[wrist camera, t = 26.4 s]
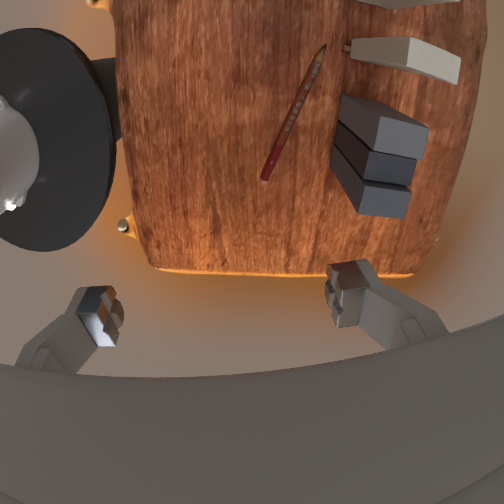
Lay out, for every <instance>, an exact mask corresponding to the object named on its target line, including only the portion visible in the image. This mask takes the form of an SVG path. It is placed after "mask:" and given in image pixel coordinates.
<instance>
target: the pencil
mask: <svg viewBox="0 0 504 504" xmlns="http://www.w3.org/2000/svg"><path fill="white" fill-rule="evenodd" d="M326 45H327V44H326ZM326 45H325V46H324V47H323V48H322V49H321V51H320V52H319V53H318V54H317V56H316V57H315V58H314V60H313V62H312V64H311V66H310V68H309V71H308V73H307V75H306V77H305V79H304V81H303V83H302V86H301V88H300V90H299V92H298V94H297V96H296V99H295V101H294V103H293V105H292V107H291V110H290V112H289V114H288V116H287V118H286V121H285V123H284V125H283V127H282V130H281V132H280V134H279V136H278V139H277V141H276V143H275V145H274V148H273V150H272V152H271V154H270V157H269V159H268V161H267V163H266V166H265V168H264V170H263V172H262V175H261V177H260V178H261V179H262V180H263V181H267V180H268V179H269V176H270V174H271V172H272V170H273V168H274V165H275V163H276V161H277V159H278V157H279V155H280V152H281V150H282V148H283V146H284V144H285V142H286V139H287V137H288V135H289V133H290V131H291V129H292V126H293V124H294V122H295V120H296V118H297V116H298V114H299V111H300V109H301V107H302V105H303V103H304V101H305V99H306V97H307V94H308V92H309V90H310V88H311V86H312V84H313V82H314V80H315V77H316V75H317V73H318V71H319V69H320V67H321V65H322V61H323V57H324V53H325V49H326Z"/></svg>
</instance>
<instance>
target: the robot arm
mask: <svg viewBox="0 0 504 504" xmlns="http://www.w3.org/2000/svg"><path fill="white" fill-rule="evenodd" d="M38 169H39V149H38V143H37V140H36V136H35V134H34V131H33V129H32V127H31V125H30V124H29V122H28V121H27V120H26V118H25V117H24V116H23V115H22V114H20V113H19V112H18V111H16V110H14V109H13V108H11V107H10V106H9V104H8V102H7V101H6V99H5V98H4V97H3V96H2V95H0V215H1V214H2V213H3V212H4V211H5V210H7V209H8V210H13V209H14V208H15V207H16V206H18V207H19V206H21V205H23V204H24V203H25V201H26V196H27V191H28V189H29V188H30V187H31V185H32V184H33V182H34V181H35V179H36V176H37V173H38ZM326 273H327V276H328V278H329V279H328V280H327V281H326V283H325V296H326V301H327V304H328V307H330V308H331V309H332V318H333V321H334V323H335V326H336V328H342V327H349V326H355V325H358V327H359V328H361V329H362V330H363V331H364V332H366V333H367V334H368V335H369V336H370V337H371V338H373V339H374V340H375V341H376V342H377V343H379V344H380V345H381V346H382V347H383V348H385V349H386V350H387V351H383V352H379V353H374V354H370V355H365V356H360V357H355V358H350V359H345V360H339V361H334V362H328V363H323V364H317V365H310V366H304V367H297V368H289V369H282V370H273V371H265V372H255V373H245V374H233V375H218V376H200V377H170V378H169V377H166V378H164V377H163V378H148V377H147V378H146V377H145V378H143V377H109V376H94V375H93V376H92V375H79V374H76V373H77V372H78V370H79V369H80V368H81V367H82V366H83V365H84V363H85V362H86V361H87V360H88V359H89V357H90V356H91V355H92V354H93V353H94V352H95V350H96V349H97V348H98V347H111V346H112V347H113V346H116V343H117V340H118V337H119V332H118V330H117V329H118V328H119V327H121V326H122V323H123V320H124V311H123V307H122V305H121V303H120V301H118V300H117V299H116V298H115V296H116V292H115V290H114V288H113V287H112V286H91V287H80V288H78V289H77V291H76V292H75V295H74V296H73V298H72V300H71V302H70V304H69V306H68V308H67V310H66V312H65V314H64V315H60V316H59V317H58V318H56V319H55V320H54V321H53V322H52V323H50V324H49V325H48V326H47V327H45V328H44V329H43V330H42V331H41V332H39V333H38V334H37V335H36V336H35V337H33V338H32V339H31V340H30V341H29V342H28V343H26V344H25V345H24V346H23V349H22V351H21V353H20V355H19V357H18V359H17V361H16V364H15V366H11V365H4V364H0V504H504V314H502V315H499V316H497V317H494V318H492V319H489V320H486V321H484V322H481V323H478V324H475V325H473V326H470V327H467V328H464V329H461V330H458V331H455V332H452V333H449V332H448V330H447V329H446V327H445V326H444V324H443V322H442V321H441V319H440V318H439V316H438V314H437V313H436V312H435V311H434V310H432V309H430V308H428V307H426V306H425V305H423V304H421V303H419V302H418V301H416V300H414V299H412V298H410V297H409V296H407V295H405V294H403V293H401V292H399V291H398V290H396V289H394V288H392V287H390V286H389V285H383V283H382V282H381V280H380V279H379V277H378V275H377V274H376V272H375V271H374V269H373V267H372V266H371V264H370V263H369V261H368V260H367V259H360V260H353V261H349V262H341V263H333V264H328V266H327V272H326Z"/></svg>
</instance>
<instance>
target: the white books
mask: <svg viewBox="0 0 504 504" xmlns="http://www.w3.org/2000/svg"><path fill="white" fill-rule="evenodd" d="M357 1H361V2H365V3H368V4H372V5H375V6H379V7H382V8H385V9H388V10H391V11H392V10H397V9H402V8H408V7H414V6H421V5H428V4H437V3H447V2H460V0H357ZM342 51H346V52H350V51H351V46H348V45H343V46H342Z"/></svg>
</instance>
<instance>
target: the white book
mask: <svg viewBox="0 0 504 504" xmlns="http://www.w3.org/2000/svg"><path fill="white" fill-rule="evenodd" d="M350 58H351V59H356V60H360V61H364V62H368V63H372V64H376V65H380V66H384V67H387V68H392V69H397V70H402V71H406V72H410V73H415V74H419V75H423V76H427V77H430V78H434V79H438V80H441V81H444V82H448V83H451V84H454V85H457V82H458V76H459V70H460V63H461V58H460V57H458V56H456V55H454V54H451V53H449V52H447V51H445V50H443V49H440V48H438V47H436V46H433V45H431V44H429V43H426V42H424V41H421V40H419V39H416V38H413V37H373V38H359V39H352V42H351V51H350Z"/></svg>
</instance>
